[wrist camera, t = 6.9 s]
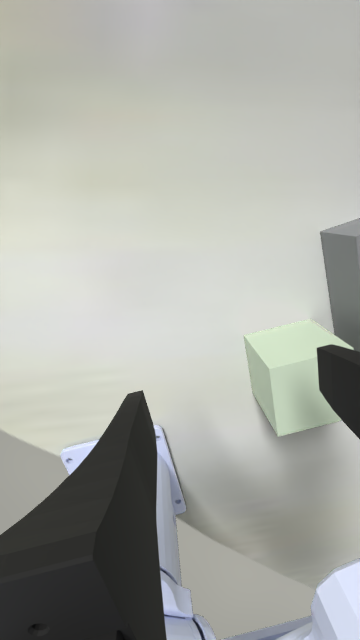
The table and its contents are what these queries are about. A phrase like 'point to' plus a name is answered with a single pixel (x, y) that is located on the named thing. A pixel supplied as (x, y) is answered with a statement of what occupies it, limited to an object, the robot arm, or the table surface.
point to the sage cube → (290, 375)
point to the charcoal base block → (344, 279)
